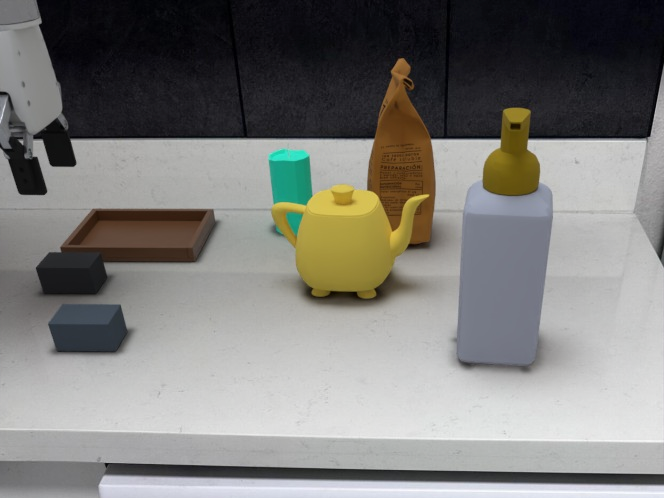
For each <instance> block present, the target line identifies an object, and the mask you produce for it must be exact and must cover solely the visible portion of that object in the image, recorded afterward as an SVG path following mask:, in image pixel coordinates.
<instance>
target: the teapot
mask: <svg viewBox="0 0 664 498" xmlns="http://www.w3.org/2000/svg"><path fill="white" fill-rule="evenodd" d="M428 197H429V195H419V196H415V197H412V198H410V199H409V200H408V201H407V202H406V203H405V205H404V207H403V211H402V218H401V223H400V226H399V227H398V229H396V230H395V231H393V232H392V229H391V226H390V223H389V220H388V218H387V215H386V213H385V211H384V208H383V206H382V204H381V202H380V200H379V198H378V196H377V195H376V194H375V193H374V192H372V191H367V189H355V187H354V186H352V185H350V184H345V183H341V184H336V185H333V186H331V187H330V188H329V189H328V188H327V189H323V190H320V191H317V192H316V193H315V194H314V195H313V197H312V198H311V199H310V200H309V202H308V204H307V206H305V205H301V204H295V203H289V202H279V203H276V204H274V203H273V204H272V207H271V210H270V213H271V217H272V220H273V222H274V224H275V227H276V226H277V227H278V229H279V230H280V231H281V233H282V234H281V235H282V236H284V238H285V239H286V240H287V241H288V243H289V244H290V245H292V247H293V248H294V249H295V251H294V253H295V267H296V270H297V272H298V274H299V276H300V278H301V279H302V281H304V283H305V284H306V285H307V286H308V287H310V288H312V290H311V295H312V296H315V297H320V298H321V297H326V296H327V297H328V296H329V295H330V294H331V292H356V294H357V297H358V298H361V299H365V300H366V299H373V298H375V297H376V296H377V292H376V290H375V289H376V288H378V287H379V286H380V285H382V284H383V283H384V281H385V280H386V279H387V277H388V276H389V274H390V273H391V271H392V270H393V267H394V266H395V263H396V258H398V257H399V256H400V255H402V254H404V252H405V251H406V250H407V248H408V246H409V245H410V244H409V242H410V239H411V234H412V226H413V218H414V213H415V211H416V208H417V207H418V205H419V204H420V203H421V202H422V201H423V200H425V199H426V198H428ZM289 212H293V213H300V214H303V217H302V220H301V223H300V226H299V230H298V234H297V236H296V235H295V234H294V232H293V231H292V229H291V227H290V225H289V223H288V221H287V218H286V213H289Z"/></svg>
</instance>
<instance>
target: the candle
mask: <svg viewBox="0 0 664 498" xmlns="http://www.w3.org/2000/svg"><path fill="white" fill-rule="evenodd" d="M286 144H287V148H280V149H277V150H273V152H270V153H269V154H268V168H269V176H270V185H271V192H272V193H271V194H272V201H273V205H274V204H276V203H279V202H289V203H295V204H301V205H305V206H307V204H308V202H309V200H310V199H311V198H312V197H313V196H314V195H313V183H312V172H311V170H312V169H311V159H310V157H311V156H310V154H309V153H308V152H306V150H305V149H297V150H294V149H290V147H289V143H288V142H287V143H286ZM302 217H303V214H300V213H293V212H289V213H286V218H287V221H288V223H289V225H290V227H291V229H292V231H293V232H294V234H295V235H296V237H297V234H298V230H299V226H300V223H301V220H302ZM275 230H276V232H277V233H278V234H281V235H283V234H282V233H281V231H280V230H279V229H278V227H277V226H276V225H275Z"/></svg>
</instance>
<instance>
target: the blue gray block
mask: <svg viewBox="0 0 664 498" xmlns="http://www.w3.org/2000/svg"><path fill="white" fill-rule="evenodd" d="M54 313H55V314H54V315H52V317H51V319H50V320H49V321H48V323H47V326H48V329H49V332H50V335H51V338H52V342H53V344H54V347H55V350H56V352H116V351H117V350H118V348H119V347H120V345H121V343H122V341H123V340H124V338H125V336H126V334H127V332H128V328H127V324H126V319H125V316H124V312H123V308H122V305H121V304H119V303H117V304H115V303H111V304H110V303H104V304H103V303H62V304H61V306H59V309H58V310H57V311H56V312H54Z"/></svg>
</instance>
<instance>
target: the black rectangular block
mask: <svg viewBox="0 0 664 498" xmlns="http://www.w3.org/2000/svg"><path fill="white" fill-rule="evenodd" d="M35 271H36V274H37V277H38V280H39V283H40V286H41V289H42V293H43V294H89V295H90V294H97V293H98V292H99V291H100V289H101V287H102V286H103V285H104V283H105V282H106V280H107V279H108V274H107V269H106V267H105V263H104V261H103V259H102V255H101V252H61V251H49V252H48V253H47V254H46V255H45V256H44V257H43V259H41V261H39V263H38V264H37V266H36V267H35Z"/></svg>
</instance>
